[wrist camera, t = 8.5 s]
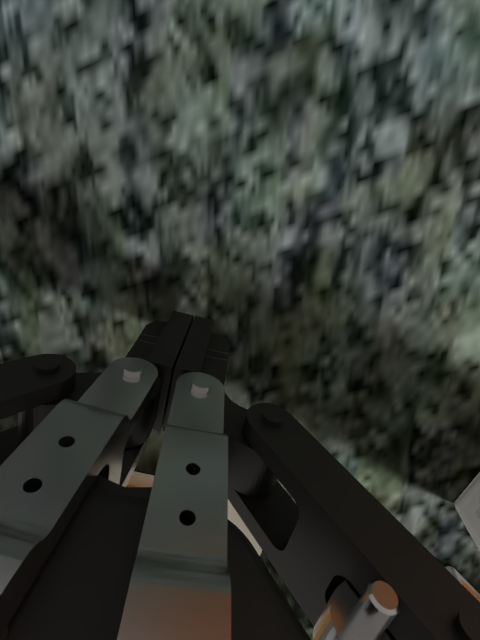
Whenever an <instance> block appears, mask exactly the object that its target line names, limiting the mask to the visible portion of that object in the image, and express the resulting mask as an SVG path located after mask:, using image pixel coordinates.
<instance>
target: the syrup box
mask: <svg viewBox="0 0 480 640" xmlns="http://www.w3.org/2000/svg"><path fill="white" fill-rule="evenodd" d="M454 504H455V508H456V510H457V512H458V514H459V516H460V517H461V519H462V521H463V523H464V525H465V526H466V528H467V530H468V532H469V534H470V535H471V537H472V538H473V540H474V542H475V544H476V546H477V548H478V549H479V551H480V472H479V474H478V475H477V476H476V477H475V478H474V479H473V481H472V482H471V483H470V484H469V485H468V487H467V488H466V489H465V490H464V491H463V492H462V494H461V495H460V496H459V498H458V499H457V500H456V501H455V502H454Z"/></svg>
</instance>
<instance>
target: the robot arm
mask: <svg viewBox="0 0 480 640" xmlns="http://www.w3.org/2000/svg"><path fill="white" fill-rule="evenodd" d="M193 318H194V320H193ZM213 325H214V320H211V319H207V318H203V317H198V316H195V317H194V315H190V314H185V313H181V312H177V311H173V313H172V315H171V317H170V319H169V321H168V322H167V323H166V322H162V321H157V320H156V321H154V322H152V323H150V324H148V325H146V326H145V328H144V330H143V331H142V333H141V334H140V336H139V337H138V339H137V340H136V342H135V344H134V345H133V347H132V348H131V350H130V351H129V353H128V354H127V356H126V358H121V359H117V360H115V361H113V362H112V363H110V364H109V366H108V367H107V368H106V369H105V370H104V371H103V372H101V373H76V366H75V363H74V362H73V361H72V360H71V359H69V358H67V357H64V356H61V355H56V354H41V355H35V356H31V357H27V358H23V359H19V360H15V361H11V362H7V363H3V364H0V419H3V418H6V417H9V416H11V415H14V414H17V413H18V426H16V427H13V428H10V429H8V430H5V431H2V432H0V640H311V639H310V638H309V636H308V634H307V633H306V631H305V629H304V628H303V626H302V625H301V623H300V621H299V620H298V618H297V616H296V615H295V613H294V612H293V610H292V608H291V607H290V605H289V603H288V602H287V600H286V599H285V597H284V595H283V594H282V592H281V590H280V589H279V587H278V586H277V584H276V582H275V581H274V579H273V577H272V576H271V574H270V573H269V571H268V569H267V568H266V566H265V564H264V563H263V561H262V560H261V558H260V556H259V555H258V553H257V551H256V550H255V548H254V547H253V545H252V544H251V542H250V541H249V539H248V538H247V537H246V536H245V534H244V533H243V532H242V531H241V530H240V529H239V528H238V527H237V526H236V525H235V524H233V523H232V522H231V521H230V520H228V500H229V501H230V503H231V504H232V506H233V507H234V509H235V510H236V512H237V513H238V515H239V516H240V518H241V519H242V521H243V522H244V524H245V525H246V527H247V528H248V529H249V531H250V532H251V534H252V535H253V537H254V538H255V540H256V541H257V543H258V544H259V546H260V547H261V549H262V550H263V552H264V553H265V555H266V556H267V558H268V559H269V561H270V562H271V564H272V565H273V567H274V568H275V570H276V571H277V573H278V574H279V576H280V577H281V579H282V580H283V582H284V583H285V585H286V586H287V588H288V589H289V591H290V592H291V594H292V595H293V596H294V598H295V599H296V601H297V602H298V604H299V605H300V607H301V608H302V610H303V611H304V613H305V614H306V616H307V617H308V619H309V620H310V622H311V623H312V625H313V626H314V630H313V640H480V602H479V601H478V600H477V599H476V598H475V597H474V596H473V595H472V594H471V593H470V592H469V591H468V590H467V589H466V588H465V587H464V586H463V585H462V584H461V583H460V582H459V581H458V580H457V579H456V578H455V577H454V576H453V575H452V574H451V573H450V572H449V571H448V570H447V569H446V568H445V567H444V566H443V565H442V564H441V563H440V562H439V561H438V560H437V559H436V558H435V557H434V556H433V555H432V554H431V553H430V552H429V551H428V550H427V549H426V548H425V547H424V546H423V545H422V544H421V543H420V542H419V541H418V540H417V539H416V538H415V537H414V536H413V535H412V534H411V533H410V532H409V531H408V530H407V529H406V528H405V527H404V526H403V525H402V524H401V523H400V522H399V521H398V520H397V519H396V518H395V517H394V516H393V515H392V514H391V513H390V512H389V511H388V510H387V509H386V508H385V507H384V506H383V505H382V504H381V503H380V502H379V501H378V500H377V499H376V498H375V497H373V496H372V495H371V494H370V493H369V492H368V491H367V490H366V489H365V488H364V487H363V486H362V485H361V484H360V483H359V482H358V481H357V480H356V479H355V478H354V477H353V476H352V475H351V474H350V473H349V472H348V471H347V470H346V469H345V468H344V467H343V466H342V465H341V464H340V463H339V462H338V461H337V460H336V459H335V458H334V457H333V456H332V455H331V454H330V453H329V452H328V451H327V450H326V449H325V448H324V447H323V446H322V445H321V444H320V443H319V442H318V441H317V440H316V439H315V438H314V437H313V436H312V435H311V434H310V433H309V432H308V431H307V430H306V429H305V428H304V427H303V426H302V425H301V424H300V423H299V422H298V421H297V420H296V419H295V418H294V417H293V416H292V415H291V414H290V413H289V412H287V411H286V410H285V409H283V408H281V407H279V406H277V405H274V404H269V403H258V404H255V405H253V406H251V407H250V408H249V409H248V410H247V409H245V408H243V407H241V406H239V405H237V404H235V403H234V402H233V401H231V400H230V399H229V398H228V396H227V395H226V393H225V390H224V381H225V374H226V368H227V362H228V355H229V349H230V344H229V342H228V340H227V338H226V336H221V335H217V334H213V333H212V330H213ZM164 419H165V421H164ZM163 422H164V426H163V431H165V432H164V437H163V441H162V445H161V450H160V454H159V459H158V463H157V467H156V472H155V476H154V481H153V485H152V487H126V486H127V484H128V482H129V480H130V478H131V476H132V474H133V472H134V470H135V468H136V466H137V464H138V462H139V460H140V458H141V456H142V454H143V452H144V450H145V447H146V441H147V439H148V437H149V436H150V433H151V430H152V429H157V430H161V427H162V425H163ZM277 479H278V480H279V481H280V482H281V483H282V485H283V486H284V487H285V488H286V489H287V491H288V492H289V493H290V494H291V496H292V497H293V498H294V500H295V501H296V503H297V505H296V504H295V502H294V501H293V500H292V499H291V497H290V496H289V495H288V494H287V493H286V491H285V490H284V489H283V488H282V486H281V485H280V484H279V483H278V481H277Z"/></svg>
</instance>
